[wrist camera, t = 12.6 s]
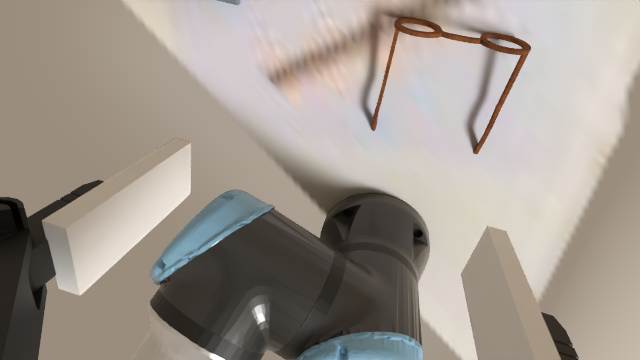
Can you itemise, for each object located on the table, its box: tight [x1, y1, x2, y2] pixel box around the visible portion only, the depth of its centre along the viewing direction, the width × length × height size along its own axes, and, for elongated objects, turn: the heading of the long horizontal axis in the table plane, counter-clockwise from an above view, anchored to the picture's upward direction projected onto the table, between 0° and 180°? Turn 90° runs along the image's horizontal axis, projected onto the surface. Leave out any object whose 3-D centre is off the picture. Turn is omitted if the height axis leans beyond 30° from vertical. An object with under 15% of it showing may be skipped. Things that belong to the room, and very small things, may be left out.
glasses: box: [372, 18, 531, 154], centre depth 38 cm, size 13×13×5 cm
